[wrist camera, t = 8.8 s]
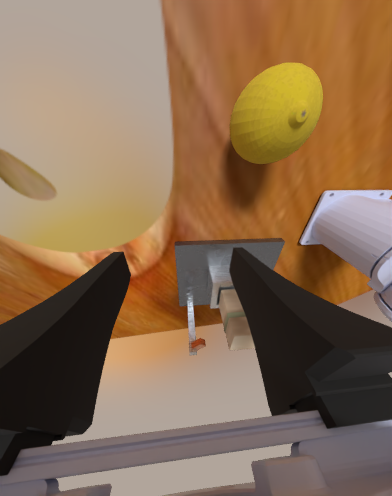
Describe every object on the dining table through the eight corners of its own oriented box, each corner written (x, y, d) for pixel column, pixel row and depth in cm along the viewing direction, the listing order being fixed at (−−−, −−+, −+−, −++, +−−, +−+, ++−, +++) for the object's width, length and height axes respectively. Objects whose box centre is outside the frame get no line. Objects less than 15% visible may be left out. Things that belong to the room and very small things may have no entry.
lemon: (263, 162, 17) (318, 175, 10) (215, 155, 16) (240, 164, 9) (287, 93, 14) (387, 46, 7) (228, 79, 13) (279, 12, 6)
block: (245, 288, 21) (266, 333, 16) (241, 303, 23) (258, 348, 18) (220, 289, 21) (233, 336, 16) (218, 305, 23) (229, 350, 18)
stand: (281, 238, 23) (332, 286, 15) (258, 296, 31) (284, 347, 23) (174, 241, 21) (172, 296, 14) (179, 301, 29) (179, 357, 22)
